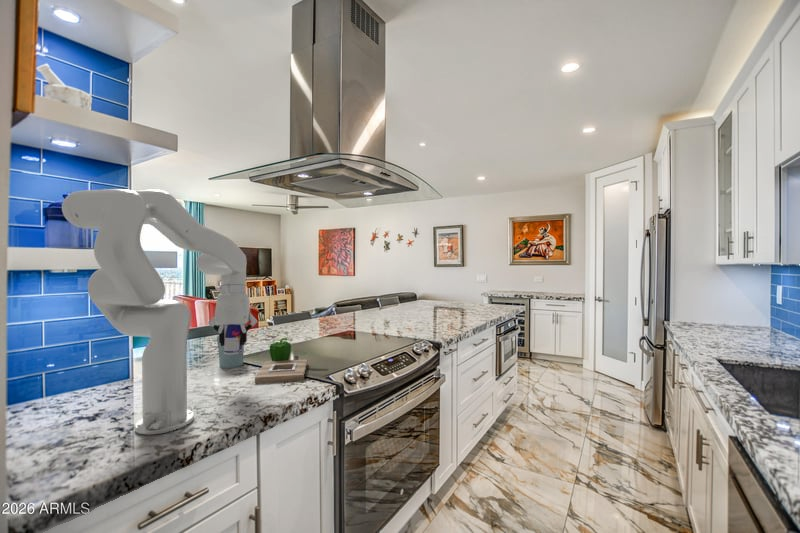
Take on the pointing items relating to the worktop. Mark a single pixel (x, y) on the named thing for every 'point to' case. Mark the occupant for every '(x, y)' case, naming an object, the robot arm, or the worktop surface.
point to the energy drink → (232, 339)
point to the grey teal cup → (229, 357)
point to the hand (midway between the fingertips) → (233, 344)
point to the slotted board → (281, 371)
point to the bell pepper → (280, 350)
